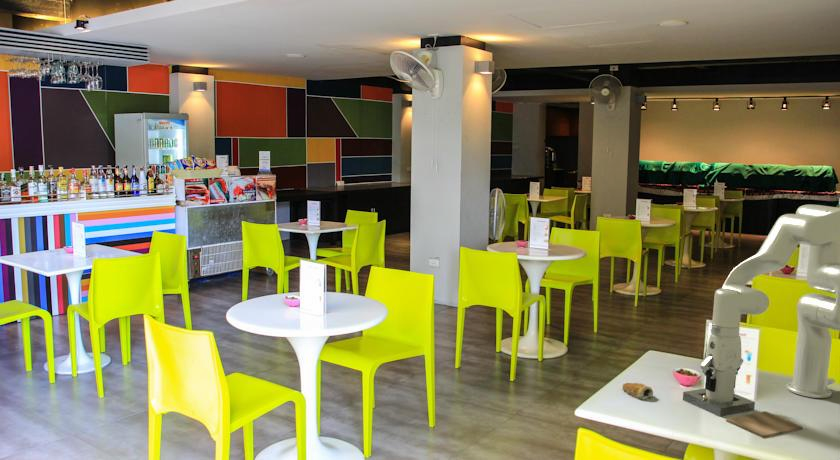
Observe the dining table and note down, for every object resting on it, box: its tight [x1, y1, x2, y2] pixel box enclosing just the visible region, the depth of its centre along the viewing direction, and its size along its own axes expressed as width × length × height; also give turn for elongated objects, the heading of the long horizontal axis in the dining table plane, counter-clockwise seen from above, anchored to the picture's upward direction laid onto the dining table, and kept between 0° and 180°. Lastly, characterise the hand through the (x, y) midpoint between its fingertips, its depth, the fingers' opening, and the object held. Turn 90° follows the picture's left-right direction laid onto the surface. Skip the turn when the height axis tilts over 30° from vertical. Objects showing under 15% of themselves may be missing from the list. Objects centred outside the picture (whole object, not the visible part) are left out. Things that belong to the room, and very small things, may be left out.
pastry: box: [622, 382, 654, 400], centre depth 222 cm, size 9×7×4 cm
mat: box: [725, 411, 804, 439], centre depth 201 cm, size 16×12×1 cm
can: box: [706, 366, 736, 404], centre depth 214 cm, size 8×8×12 cm
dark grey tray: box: [682, 387, 756, 418], centre depth 215 cm, size 14×14×4 cm
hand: (720, 388), depth 214 cm, fingers closed on can, 7 cm apart
